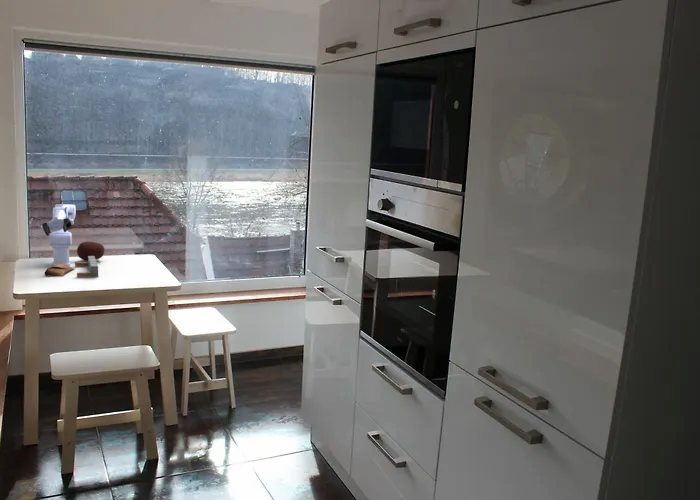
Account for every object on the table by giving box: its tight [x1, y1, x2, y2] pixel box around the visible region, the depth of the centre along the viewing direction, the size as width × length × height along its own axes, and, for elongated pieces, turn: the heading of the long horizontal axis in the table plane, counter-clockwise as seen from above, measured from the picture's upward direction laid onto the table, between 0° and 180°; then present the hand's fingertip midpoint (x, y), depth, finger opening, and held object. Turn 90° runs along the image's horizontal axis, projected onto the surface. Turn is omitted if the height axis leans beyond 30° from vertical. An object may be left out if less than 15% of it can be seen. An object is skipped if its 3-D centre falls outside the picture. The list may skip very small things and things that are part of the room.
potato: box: [76, 240, 105, 262], centre depth 326 cm, size 11×13×10 cm
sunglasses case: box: [44, 262, 76, 278], centre depth 297 cm, size 18×7×7 cm
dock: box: [74, 256, 99, 279], centre depth 302 cm, size 27×9×5 cm, turn 25°
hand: (55, 232), depth 293 cm, fingers open, 7 cm apart
